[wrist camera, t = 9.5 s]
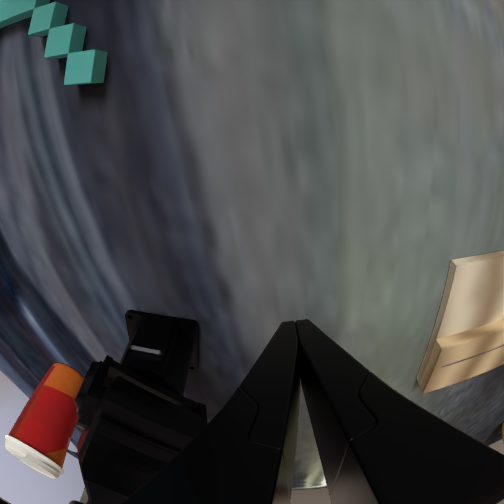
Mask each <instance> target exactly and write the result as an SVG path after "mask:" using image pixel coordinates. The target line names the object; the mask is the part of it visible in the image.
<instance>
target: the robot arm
mask: <svg viewBox="0 0 504 504" xmlns="http://www.w3.org/2000/svg"><path fill="white" fill-rule="evenodd" d="M130 315H131V316H130ZM125 319H126V325H127V330H128V335H129V340H130V341H129V343H128V345H127V347H126V350H125V352H124V354H123V357H122V359H121V361H120V363H118V362H116V361H114V360H113V358H111V357H110V356H108V355H107V356H106V358H105V360H104V361H103V362H102V361H100V362H92V364H91V366H90V368H89V370H88V372H87V374H86V376H85V379H84V381H83V383H82V385H81V387H80V389H79V391H78V393H77V396H76V398H75V400H74V402H75V405H76V407H77V410H78V412H77V416H78V419H77V422H76V426H78V427H80V428H82V429H83V431H82V434H81V436H80V439H79V441H78V445H77V447H78V460H79V464H80V469H81V473H82V477H83V480H84V484H85V488H84V491H83V494H82V497H81V500H80V502H78V501H71V502H70V503H69V504H290V500H291V492H292V483H293V473H294V463H295V453H296V441H297V429H298V416H299V401H300V379H301V385H302V389H303V393H304V397H305V401H306V404H307V408H308V412H309V416H310V420H311V424H312V428H313V432H314V436H315V440H316V443H317V447H318V451H319V455H320V459H321V463H322V467H323V471H324V475H325V479H326V483H327V487H328V492H329V495H330V500H331V504H504V455H503V454H501V453H499V452H498V451H496V450H494V449H492V448H490V447H489V446H487V445H485V444H483V443H481V442H480V441H478V440H476V439H474V438H473V437H471V436H469V435H467V434H466V433H464V432H462V431H461V430H459V429H457V428H455V427H454V426H452V425H450V424H449V423H447V422H445V421H444V420H442V419H440V418H439V417H437V416H435V415H434V414H432V413H430V412H429V411H427V410H425V409H424V408H422V407H420V406H419V405H417V404H416V403H414V402H412V401H411V400H409V399H407V398H406V397H404V396H403V395H401V394H400V393H398V392H397V391H395V390H394V389H392V388H391V387H390V386H388V385H387V384H386V383H384V382H383V381H382V380H380V379H379V378H378V377H377V376H376V375H374V374H373V373H372V372H370V371H369V370H368V369H367V368H365V367H364V366H363V365H362V364H361V363H359V362H358V361H357V360H356V359H355V358H353V357H352V356H351V355H350V354H349V353H347V352H346V351H345V350H344V349H343V348H341V347H340V346H339V345H338V344H337V343H336V342H334V341H333V340H332V339H331V338H330V337H328V336H327V335H326V334H325V333H324V332H323V331H321V330H320V329H319V328H318V327H317V326H315V325H314V324H313V323H312V322H311V321H310V320H308V319H305V320H297V321H296V322H294V321H287V322H282V323H281V325H280V326H279V328H278V329H277V331H276V332H275V334H274V335H273V337H272V338H271V340H270V342H269V343H268V345H267V346H266V348H265V349H264V351H263V352H262V354H261V355H260V357H259V358H258V360H257V361H256V363H255V364H254V366H253V367H252V369H251V370H250V371H249V373H248V374H247V376H246V377H245V379H244V380H243V382H242V383H241V385H240V386H239V387H238V388H237V390H236V391H235V393H234V394H233V395H232V397H231V398H230V399H229V401H228V402H227V403H226V404H225V406H224V407H223V408H222V409H221V410H220V412H219V413H218V414H217V415H216V416H215V417H214V418H213V419H212V420H211V421H210V422H209V423H207V414H206V405H204V404H202V403H200V402H199V403H197V402H195V401H192V400H190V399H188V398H186V397H184V396H183V393H184V388H185V384H186V379H187V375H188V371H196V370H197V367H198V323H197V322H196V321H195V320H190V319H183V318H177V317H170V316H164V315H157V314H151V313H145V312H140V311H134V310H128V311H127V312H126V314H125ZM190 325H193V326H190ZM0 504H11V503H9V502H7V501H5V500H4V499H2V498H0Z"/></svg>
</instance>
